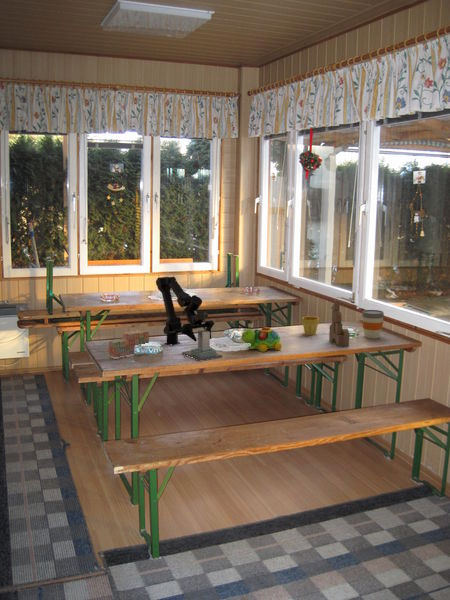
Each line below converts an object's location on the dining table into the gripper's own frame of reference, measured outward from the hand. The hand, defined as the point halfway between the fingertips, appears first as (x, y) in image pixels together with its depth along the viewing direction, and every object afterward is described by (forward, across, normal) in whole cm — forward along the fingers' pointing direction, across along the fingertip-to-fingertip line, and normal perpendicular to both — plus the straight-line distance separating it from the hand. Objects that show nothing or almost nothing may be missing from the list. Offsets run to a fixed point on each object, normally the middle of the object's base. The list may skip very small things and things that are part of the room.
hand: (203, 339), depth 336 cm
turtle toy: (+10, +35, +3) cm, 37 cm away
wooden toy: (+22, +78, -9) cm, 81 cm away
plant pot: (+3, +80, +10) cm, 81 cm away
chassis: (+5, 0, +8) cm, 9 cm away
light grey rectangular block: (+6, 0, +5) cm, 8 cm away
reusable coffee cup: (+22, +106, -9) cm, 108 cm away
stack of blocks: (-11, -31, +24) cm, 41 cm away
